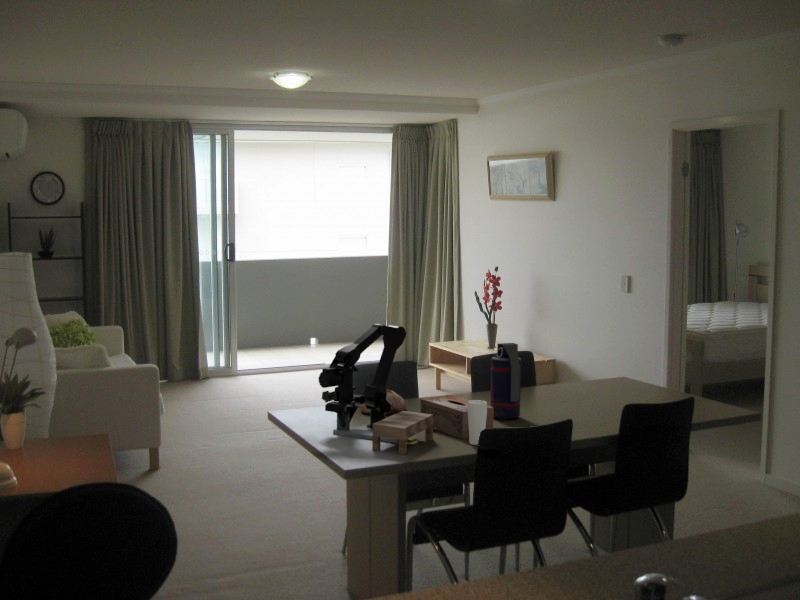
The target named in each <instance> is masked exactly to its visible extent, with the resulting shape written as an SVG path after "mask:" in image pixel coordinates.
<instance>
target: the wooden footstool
mask: <svg viewBox="0 0 800 600" xmlns="http://www.w3.org/2000/svg"><path fill="white" fill-rule="evenodd" d="M372 431H373V440H372V447H371V449H372V451H376V452H378V451H380V450H381V441H380V439H381V437H385V438H392V439H399V443H398V454H399V455H401V454H403V456H404V454H405V455H406V453H407V452H408V449H407V448H408V445H407V439H408V438H413V437H414V436H415V435H417V434H419V433H421V432H423V431H425V434H424V435H425V437H424V438H425V439H424V440H425V441H432V440H433V438H434V428H433V414H425V413H420V412H417V411H408V410H403V411H401V412H399V413H396V414H392V415H389V416H387V417H386V418H385V419H383V420H381V421H378V422H376V423H374V424H373V427H372ZM407 454H408V453H407Z"/></svg>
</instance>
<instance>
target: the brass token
mask: <svg viewBox="0 0 800 600" xmlns="http://www.w3.org/2000/svg"><path fill="white" fill-rule="evenodd" d="M418 443H419V440H418V438H416V437H410V438H408V439H407V444H414V445H417V444H418Z"/></svg>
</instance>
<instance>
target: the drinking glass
mask: <svg viewBox="0 0 800 600" xmlns="http://www.w3.org/2000/svg"><path fill="white" fill-rule="evenodd" d="M469 400H470V399H469ZM487 405H488V402H487V401H486V400H483V399H471V400H470V401H468V427H469V437H468V443H469V445H471V446H478V445H477V444H478V440H479V436H480V432H481V431H482V430H484V429H485V427H486V418H487Z"/></svg>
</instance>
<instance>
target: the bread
mask: <svg viewBox="0 0 800 600" xmlns="http://www.w3.org/2000/svg"><path fill="white" fill-rule="evenodd" d="M386 392H387V396H386V400H387V401H388V403H389V404H390V405H391V409H390V411H388V412H386V415H387V416H391V415H390V414H392V415H394V414H397V413H399V412H401V411H405V410H406V409H407V403H406V401H405V400H404V398H403V397H402V396H401V395H399V394H398V393H396V392H395V391H394V390H390V389H386ZM360 410H361V412H363V413H364V414H370V413H371V410H370V409H366V406H365V403H364V404H360Z"/></svg>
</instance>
